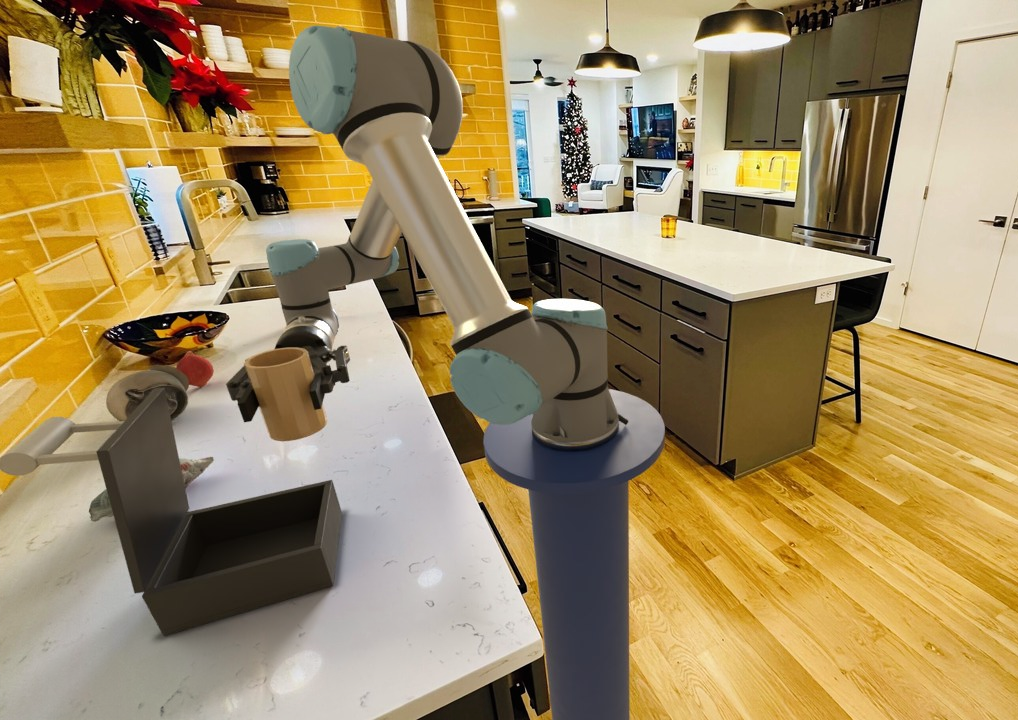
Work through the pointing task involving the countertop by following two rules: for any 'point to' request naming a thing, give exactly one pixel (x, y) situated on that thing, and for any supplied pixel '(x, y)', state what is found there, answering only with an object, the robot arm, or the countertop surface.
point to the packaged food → (190, 472)
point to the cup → (285, 393)
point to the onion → (195, 369)
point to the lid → (123, 477)
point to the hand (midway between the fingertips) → (280, 406)
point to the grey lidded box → (246, 556)
